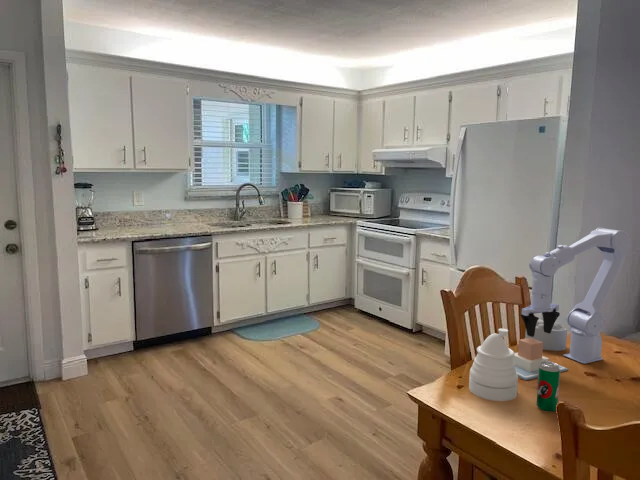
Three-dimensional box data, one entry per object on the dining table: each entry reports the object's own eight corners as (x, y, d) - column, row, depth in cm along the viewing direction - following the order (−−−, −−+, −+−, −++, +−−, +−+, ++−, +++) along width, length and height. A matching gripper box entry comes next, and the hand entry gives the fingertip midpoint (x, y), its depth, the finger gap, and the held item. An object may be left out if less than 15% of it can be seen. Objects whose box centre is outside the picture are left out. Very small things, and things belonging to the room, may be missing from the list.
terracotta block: (529, 352, 158) (530, 337, 157) (542, 357, 153) (543, 342, 153) (517, 354, 156) (518, 339, 155) (530, 360, 151) (531, 344, 150)
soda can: (559, 413, 125) (563, 369, 123) (538, 411, 126) (541, 367, 124) (554, 404, 130) (557, 361, 128) (534, 402, 131) (537, 360, 129)
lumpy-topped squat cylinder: (532, 337, 183) (533, 315, 182) (569, 345, 175) (571, 322, 174) (522, 344, 176) (523, 321, 175) (560, 353, 167) (562, 329, 166)
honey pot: (515, 384, 142) (519, 324, 140) (518, 404, 130) (522, 339, 128) (469, 378, 146) (472, 320, 144) (468, 396, 134) (470, 333, 132)
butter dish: (531, 355, 165) (531, 345, 165) (567, 370, 153) (568, 359, 152) (491, 363, 158) (491, 353, 157) (525, 380, 145) (526, 368, 145)
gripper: (535, 298, 150) (532, 341, 151) (568, 293, 156) (565, 334, 158) (517, 293, 156) (515, 334, 158) (549, 289, 162) (546, 328, 164)
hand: (538, 334), depth 158 cm, fingers open, 7 cm apart
